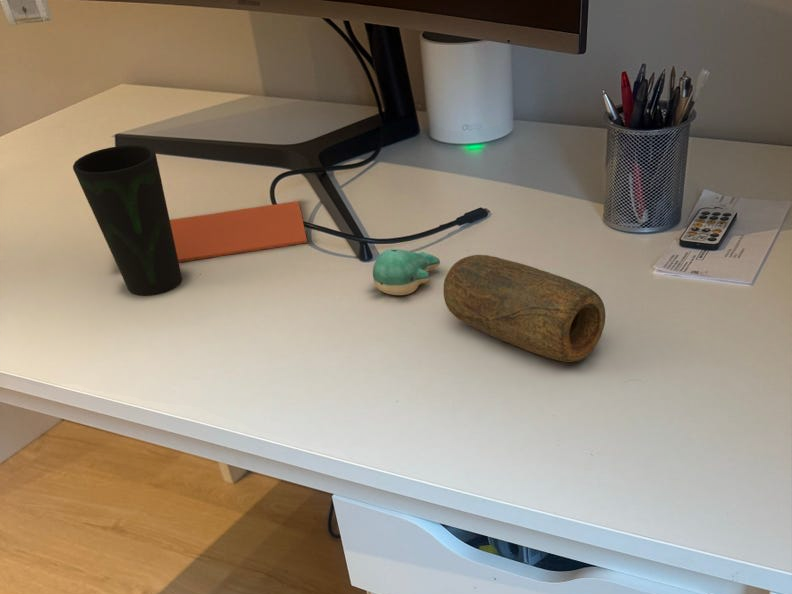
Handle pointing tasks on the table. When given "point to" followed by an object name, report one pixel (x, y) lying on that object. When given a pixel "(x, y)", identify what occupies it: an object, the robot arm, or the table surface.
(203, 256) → the flat orange rectangular block
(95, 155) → the cup
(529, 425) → the table surface
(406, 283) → the whale figurine
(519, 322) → the wooden vase
